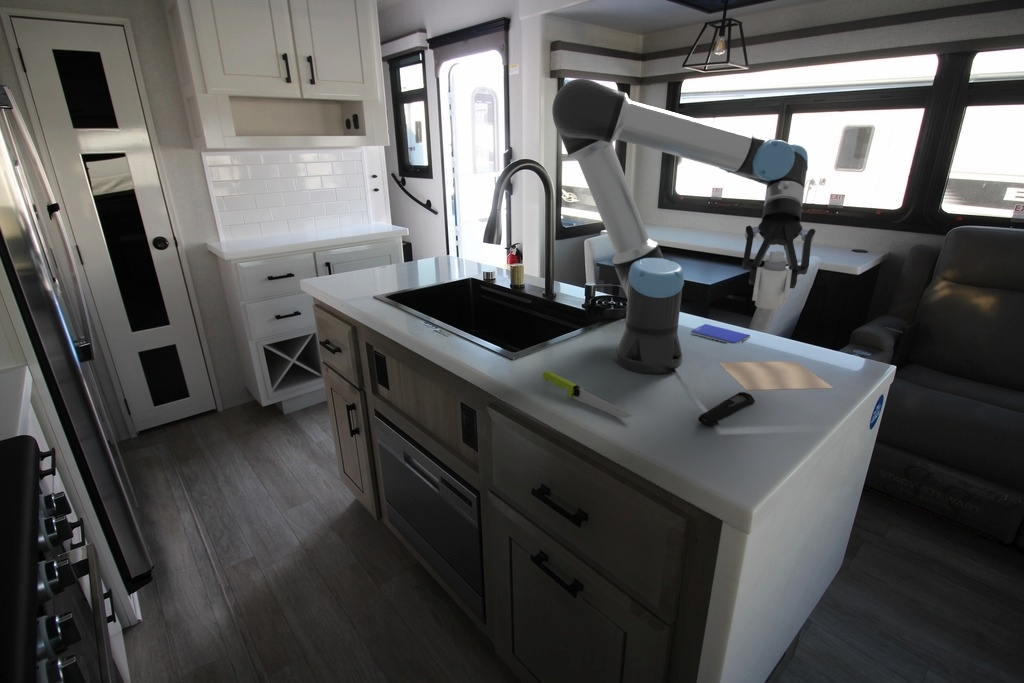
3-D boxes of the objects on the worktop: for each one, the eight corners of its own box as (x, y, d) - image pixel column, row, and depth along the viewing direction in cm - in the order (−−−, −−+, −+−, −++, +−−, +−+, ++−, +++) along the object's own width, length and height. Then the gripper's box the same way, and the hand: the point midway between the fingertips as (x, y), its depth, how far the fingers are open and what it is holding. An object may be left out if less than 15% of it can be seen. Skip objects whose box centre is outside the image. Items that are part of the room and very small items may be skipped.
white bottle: (761, 309, 106) (771, 254, 101) (750, 302, 110) (759, 249, 106) (785, 309, 106) (796, 254, 102) (773, 302, 110) (783, 249, 106)
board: (745, 394, 104) (746, 389, 104) (717, 366, 117) (718, 362, 117) (832, 392, 104) (833, 387, 104) (794, 365, 117) (795, 361, 117)
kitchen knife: (632, 427, 95) (634, 413, 93) (628, 429, 94) (630, 415, 93) (545, 381, 109) (546, 369, 108) (541, 383, 108) (542, 370, 107)
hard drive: (691, 330, 138) (736, 341, 129) (706, 323, 143) (750, 334, 134) (690, 335, 138) (735, 347, 130) (705, 328, 143) (749, 339, 135)
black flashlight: (691, 425, 94) (693, 410, 92) (738, 400, 102) (740, 386, 101) (709, 434, 91) (711, 418, 90) (756, 407, 99) (759, 393, 98)
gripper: (739, 194, 112) (723, 284, 104) (833, 197, 105) (824, 294, 97) (737, 216, 119) (722, 302, 111) (826, 220, 111) (816, 312, 103)
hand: (769, 298), depth 104 cm, fingers closed on white bottle, 5 cm apart
